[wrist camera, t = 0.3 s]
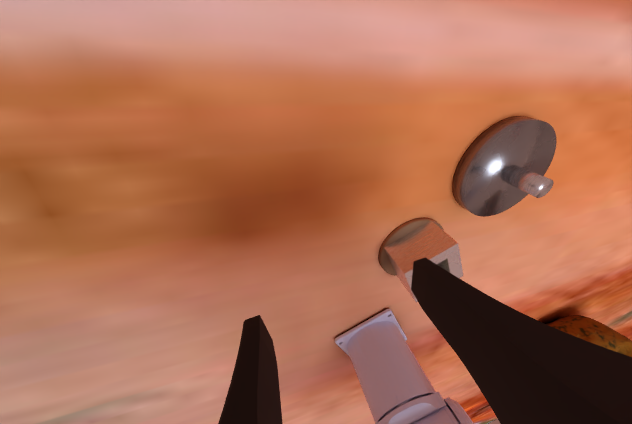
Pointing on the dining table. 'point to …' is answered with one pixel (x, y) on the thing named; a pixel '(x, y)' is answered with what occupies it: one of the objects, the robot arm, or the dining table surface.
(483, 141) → the hub
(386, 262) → the stand
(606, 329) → the decorative pumpkin
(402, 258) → the square tube sleeve
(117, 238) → the dining table surface
